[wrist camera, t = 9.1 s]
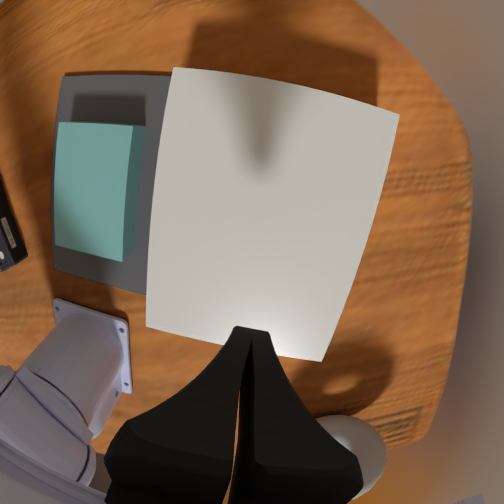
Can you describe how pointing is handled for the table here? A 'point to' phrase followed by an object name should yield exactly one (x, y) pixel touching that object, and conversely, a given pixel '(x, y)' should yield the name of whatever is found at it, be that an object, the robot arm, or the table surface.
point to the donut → (359, 445)
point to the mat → (150, 115)
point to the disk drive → (9, 236)
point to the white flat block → (261, 208)
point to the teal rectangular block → (97, 187)
